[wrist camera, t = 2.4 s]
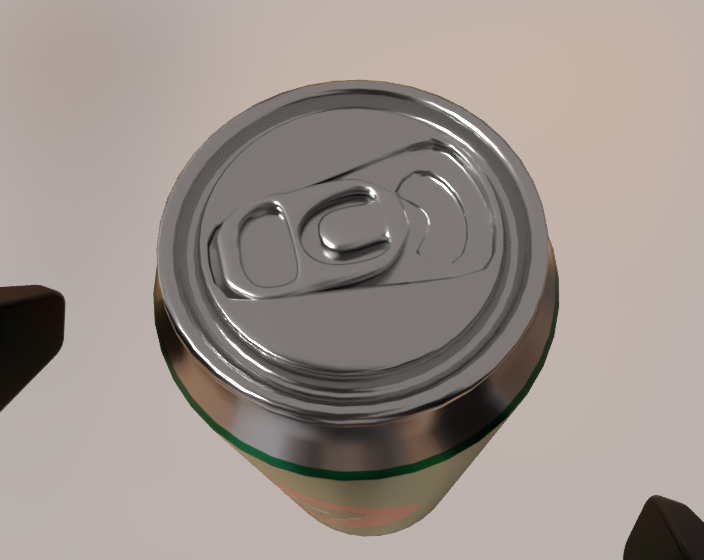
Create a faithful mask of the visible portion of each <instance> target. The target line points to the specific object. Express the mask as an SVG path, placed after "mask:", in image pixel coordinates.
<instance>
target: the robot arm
mask: <svg viewBox="0 0 704 560" xmlns="http://www.w3.org/2000/svg"><path fill="white" fill-rule="evenodd" d="M64 324H65V299H64V296H63V295H62V294H61V293H60V292H58V291H55V290H53V289H50V288H47V287H44V286H41V285H26V286H9V287H0V412H1V411H2V410H3V409H4V408H5V407H6V406H7V405H8V404H9V403H10V402H11V401H12V400H13V398H15V397H16V396H17V395H18V394H19V392H20V391H21V390H22V389H23V388H24V387H25V386H26V385H27V384H28V383H29V382H30V381H31V380H32V379H33V378H34V377H35V376H36V375H37V374H38V373H39V372H40V371H41V370H42V369H43V368H44V367H45V366H46V365H47V364H48V363H49V362H50V361H51V360H52V359H53V358H54V357H55V356H56V355H57V353H58V352H59V350H60V349H61V347H62V344H63V341H64ZM623 560H704V522H703V521H702V520H701V519H700V518H699V517H698V516H697V515H696V514H695V513H694V512H693V511H692V510H691V509H690V508H688V507H687V506H686V505H684V504H682V503H680V502H677V501H674V500H671V499H668V498H665V497H662V496H658V495H654V496H651V497H650V498H649V499H648V500H647V501H646V503H645V505H644V507H643V509H642V511H641V513H640V515H639V517H638V519H637V521H636V523H635V525H634V528H633V530H632V531H631V533H630V536H629V538H628V540H627V542H626V545H625V549H624V555H623Z"/></svg>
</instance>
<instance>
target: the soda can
mask: <svg viewBox="0 0 704 560" xmlns="http://www.w3.org/2000/svg"><path fill="white" fill-rule="evenodd" d="M153 294H154V316H155V326H156V330H157V334H158V339H159V343H160V347H161V352H162V354H163V356H164V359H165V361H166V363H167V366H168V368H169V371H170V373H171V375H172V378H173V380H174V381H175V383H176V384H177V386H178V387H179V389H180V390H181V392H182V393H183V395H184V397H185V398H186V400H187V401H188V403H189V404H190V406H191V407H192V408H193V409H194V410H195V411H196V412H197V413H198V414H199V415H200V416H201V417H202V419H203V420H204V421H205V422H206V423H207V424H208V425H209V426H210V427H211V428H212V429H213V430H214V431H215V432H216V433H217V434H219V436H221V437H222V438H223V439H224V440H225V441H226V442H227V443H229V444H230V445H231V446H232V447H233V448H234V449H235V450H237V451H238V452H239V453H240V454H241V455H242V456H243V457H244V458H246V459H247V460H248V461H249V462H250V463H251V464H252V465H254V466H255V467H256V468H257V469H258V470H260V472H262V473H263V474H264V475H265V476H266V477H267V478H268V479H270V480H271V481H272V482H273V483H274V484H275V485H276V486H278V487H279V488H280V489H281V490H282V491H283V492H284V493H285V494H287V495H288V496H289V497H290V498H291V499H292V500H294V501H295V502H296V503H297V504H298V505H299V506H300V507H301V508H303V509H304V510H305V511H306V512H307V513H308V514H310V515H311V516H312V517H314V518H315V519H316V520H318V521H319V522H321V523H322V524H324V525H326V526H328V527H330V528H332V529H334V530H337V531H340V532H344V533H346V534H351V535H358V536H381V535H385V534H390V533H395V532H397V531H400V530H403V529H405V528H407V527H410V526H411V525H413V524H415V523H416V522H418V521H420V520H421V519H423V518H424V517H425V516H426V515H427V514H428V513H430V512H431V511H432V510H433V509H434V508H435V507H436V506H437V504H438V503H439V502H440V501H441V500H442V498H443V497H444V496H445V495H446V494H447V492H448V491H449V490H450V489H451V487H452V486H453V485H454V484H455V482H456V481H457V480H458V479H459V478H460V476H461V475H462V474H463V473H464V471H465V470H466V469H467V468H468V467H469V465H470V464H471V462H473V460H474V459H475V458H476V457H477V455H478V454H479V453H480V452H481V451H482V449H483V448H484V447H485V446H486V444H487V443H488V442H489V441H490V440H491V438H492V437H493V436H494V435H495V433H496V432H497V431H498V430H499V428H500V427H501V426H502V425H503V424H504V422H505V421H506V420H507V418H508V417H509V416H510V415H511V414H512V412H513V411H514V410H515V409H516V407H517V406H518V405H519V404H520V403H521V401H522V400H523V399H524V398H525V396H526V395H527V394H528V392H529V390H530V389H531V387H532V385H533V383H534V382H535V380H536V378H537V377H538V375H539V373H540V371H541V369H542V368H543V366H544V363H545V360H546V358H547V355H548V352H549V349H550V346H551V344H552V341H553V338H554V334H555V328H556V322H557V316H558V309H559V277H558V271H557V266H556V261H555V255H554V250H553V247H552V245H551V242H550V239H549V236H548V231H547V225H546V220H545V215H544V209H543V205H542V203H541V200H540V197H539V195H538V192H537V189H536V187H535V184H534V182H533V180H532V178H531V177H530V175H529V173H528V171H527V170H526V168H525V166H524V165H523V163H522V161H521V160H520V158H519V157H518V156H517V155H516V153H515V152H514V151H513V150H512V149H511V147H510V146H509V145H508V144H507V142H506V141H505V140H504V139H503V138H502V137H501V136H500V135H499V134H497V133H496V132H495V131H494V130H493V129H492V128H491V127H490V126H488V125H487V124H486V123H485V122H484V121H483V120H481V119H479V118H478V117H477V116H475V115H473V114H472V113H470V112H469V111H467V110H466V109H464V108H463V107H461V106H459V105H457V104H455V103H453V102H450V101H449V100H446V99H444V98H443V97H440V96H438V95H435V94H433V93H429V92H426V91H423V90H420V89H417V88H414V87H410V86H405V85H400V84H395V83H389V82H382V81H368V80H347V81H331V82H325V83H319V84H314V85H307V86H304V87H300V88H297V89H294V90H290V91H287V92H283V93H281V94H278V95H276V96H274V97H271V98H269V99H266V100H264V101H262V102H260V103H258V104H255V105H254V106H252V107H251V108H249V109H247V110H245V111H244V112H242V113H240V114H239V115H237V116H235V117H234V118H232V119H231V120H230V121H228V122H227V123H226V124H225V125H223V126H222V127H221V128H220V129H218V130H217V131H216V132H215V133H213V134H212V135H211V136H210V137H209V138H208V139H207V140H206V141H205V143H204V144H203V145H202V146H201V147H200V148H199V149H198V150H197V151H196V152H195V153H194V154H193V156H192V157H191V159H190V160H189V161H188V163H187V164H186V166H185V167H184V169H183V170H182V172H181V173H180V174H179V177H178V178H177V181H176V182H175V184H174V186H173V188H172V190H171V192H170V194H169V196H168V199H167V202H166V205H165V208H164V211H163V215H162V218H161V221H160V227H159V234H158V242H157V269H156V277H155V285H154V293H153Z"/></svg>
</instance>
